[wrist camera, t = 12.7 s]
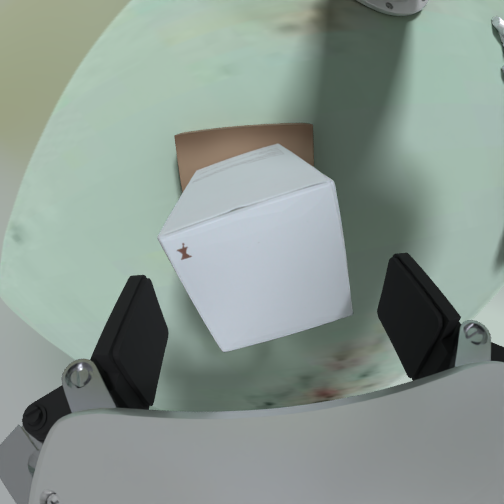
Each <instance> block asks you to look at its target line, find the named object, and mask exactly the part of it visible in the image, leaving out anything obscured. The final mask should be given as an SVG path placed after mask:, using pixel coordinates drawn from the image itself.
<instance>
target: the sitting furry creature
mask: <svg viewBox="0 0 504 504" xmlns="http://www.w3.org/2000/svg"><path fill="white" fill-rule="evenodd" d="M491 23H492V24H493V25H494V27H495V28H496V29H497V30H498V32H499V35H500V38H501V42H503V44H502V45H503V47H504V21H503V20H502V19H501V18H500V17H498V16H494V17H493V18H492V22H491ZM502 70H503V73H504V66H503V67H502Z"/></svg>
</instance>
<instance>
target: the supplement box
mask: <svg viewBox="0 0 504 504" xmlns="http://www.w3.org/2000/svg"><path fill="white" fill-rule="evenodd" d="M157 239H158V240H159V242H160V244H161V246H162V248H163V250H164V251H165V253H166V255H167V257H168V259H169V261H170V262H171V264H172V266H173V268H174V270H175V271H176V273H177V275H178V277H179V278H180V280H181V282H182V284H183V286H184V288H185V289H186V291H187V293H188V295H189V297H190V299H191V300H192V302H193V304H194V305H195V307H196V309H197V311H198V312H199V314H200V316H201V318H202V319H203V321H204V323H205V324H206V326H207V328H208V329H209V331H210V333H211V334H212V336H213V338H214V339H215V341H216V343H217V344H218V346H219V347H220V349H221V350H222V351H223V352H227V351H231V350H236V349H239V348H243V347H247V346H251V345H255V344H258V343H262V342H266V341H270V340H273V339H277V338H281V337H284V336H287V335H291V334H294V333H298V332H301V331H304V330H307V329H311V328H314V327H317V326H320V325H323V324H326V323H330V322H333V321H336V320H339V319H342V318H345V317H348V316H350V315H352V314H353V308H352V300H351V292H350V284H349V275H348V266H347V257H346V250H345V242H344V235H343V229H342V222H341V216H340V210H339V204H338V198H337V193H336V187H335V183H334V181H333V180H332V179H330V178H329V177H327V176H326V175H324V174H323V173H321V172H320V171H318V170H317V169H315V168H314V167H313V166H311V165H310V164H308V163H307V162H305V161H304V160H303V159H301V158H300V157H298V156H297V155H295V154H294V153H292V152H291V151H289V150H288V149H286V148H285V147H283V146H281V145H280V144H274V145H271V146H267V147H263V148H260V149H257V150H253V151H250V152H247V153H244V154H241V155H238V156H235V157H232V158H229V159H227V160H224V161H221V162H218V163H215V164H213V165H210V166H207V167H205V168H202V169H199V170H197V171H196V172H195V174H194V175H193V177H192V178H191V180H190V182H189V183H188V185H187V186H186V188H185V190H184V191H183V193H182V195H181V196H180V198H179V200H178V201H177V203H176V205H175V206H174V208H173V210H172V212H171V213H170V215H169V217H168V219H167V220H166V222H165V224H164V225H163V227H162V229H161V231H160V233H159V235H158V237H157Z"/></svg>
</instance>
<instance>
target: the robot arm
mask: <svg viewBox="0 0 504 504" xmlns="http://www.w3.org/2000/svg"><path fill="white" fill-rule="evenodd" d="M357 1H358V2H360V3H362V4H364V5H365V6H367V7H369V8H371V9H374V10H376V11H378V12H382V13H385V14H388V15H395V16H408V15H411V14H414V13H417V12H419V11H421V10H422V9H423V8H424V7H425V6H426V4H427V2H428V0H357ZM377 313H378V317H379V319H380V321H381V323H382V325H383V327H384V329H385V331H386V333H387V335H388V336H389V338H390V340H391V342H392V344H393V346H394V348H395V350H396V352H397V355H398V357H399V359H400V361H401V363H402V365H403V367H404V369H405V371H406V373H407V375H408V377H409V378H412V380H413V381H411V382H408V383H404V384H401V385H397V386H394V387H390V388H386V389H382V390H378V391H374V392H370V393H366V394H361V395H357V396H352V397H347V398H342V399H337V400H332V401H326V402H320V403H313V404H306V405H299V406H291V407H282V408H272V409H261V410H246V411H221V412H190V411H160V410H149V406H152V405H153V403H154V399H155V394H156V389H157V384H158V379H159V375H160V370H161V366H162V361H163V357H164V352H165V348H166V344H167V340H168V328H167V325H166V322H165V320H164V317H163V314H162V311H161V309H160V306H159V303H158V300H157V297H156V294H155V291H154V288H153V285H152V282H151V280H150V279H149V278H146V276H145V275H135V276H130V277H129V279H128V281H127V283H126V285H125V287H124V289H123V291H122V293H121V294H120V296H119V298H118V300H117V302H116V304H115V306H114V309H113V311H112V313H111V315H110V317H109V319H108V321H107V323H106V325H105V327H104V329H103V332H102V334H101V336H100V338H99V340H98V343H97V345H96V347H95V350H94V352H93V354H92V357H91V359H90V360H88V359H78V360H76V361H73V362H72V363H71V364H69V365H68V366H67V367H66V369H65V370H64V372H63V374H62V386H60V387H59V388H57V389H55V390H54V391H52V392H50V393H49V394H47V395H45V396H44V397H42V398H40V399H39V400H37V401H35V402H34V403H32V404H31V405H29V406H28V407H27V409H26V410H25V412H24V414H23V419H22V422H23V426H22V427H21V426H20V425H18V426H17V427H16V428H15V429H14V430H13V431H12V432H11V433H10V435H9V436H8V437H7V438H6V439H5V440H4V441H3V442H2V444H1V445H0V478H1V480H2V482H3V483H4V485H5V486H6V488H7V490H8V491H9V493H10V494H11V496H12V497H13V499H14V500H15V502H16V503H17V504H504V347H502V346H499V345H497V344H495V343H492V342H491V336H490V333H489V331H488V329H487V328H486V327H485V326H484V325H483V324H481V323H480V322H478V321H474V320H467V321H465V322H463V323H462V324H460V322H459V320H460V318H461V317H460V315H459V314H458V313H457V311H456V310H455V309H454V307H453V306H452V305H451V303H450V302H449V301H448V300H447V298H446V297H445V296H444V295H443V293H442V292H441V291H440V290H439V288H438V287H437V286H436V285H435V284H434V282H433V281H432V280H431V279H430V278H429V276H428V275H427V274H426V273H425V272H424V271H423V269H422V268H421V267H420V266H419V265H418V264H417V263H416V261H415V260H414V259H413V258H412V257H411V256H410V255H409V254H408V253H399V254H394V255H393V257H392V258H390V260H389V263H388V268H387V273H386V277H385V281H384V286H383V290H382V294H381V298H380V302H379V305H378V310H377Z"/></svg>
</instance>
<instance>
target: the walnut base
mask: <svg viewBox="0 0 504 504" xmlns="http://www.w3.org/2000/svg"><path fill="white" fill-rule="evenodd" d="M175 144H176V151H177V159H178V166H179V173H180V180H181V186H182V193H183V191H184V190H185V188H186V186H187V185H188V183H189V182H190V180H191V178H192V177H193V175H194V174H195V172H196V171H197V170H199V169H202V168H205V167H207V166H210V165H213V164H215V163H218V162H221V161H224V160H227V159H229V158H232V157H235V156H238V155H241V154H244V153H247V152H250V151H253V150H257V149H260V148H263V147H267V146H271V145H274V144H280V145H281V146H283V147H285V148H286V149H288V150H289V151H291V152H292V153H294V154H295V155H297V156H298V157H300V158H301V159H303V160H304V161H305V162H307V163H308V164H310V165H311V166H313V167H314V149H313V124H307V123H280V124H260V125H245V126H234V127H224V128H214V129H206V130H198V131H191V132H184V133H180V134H177V135H175Z"/></svg>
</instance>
